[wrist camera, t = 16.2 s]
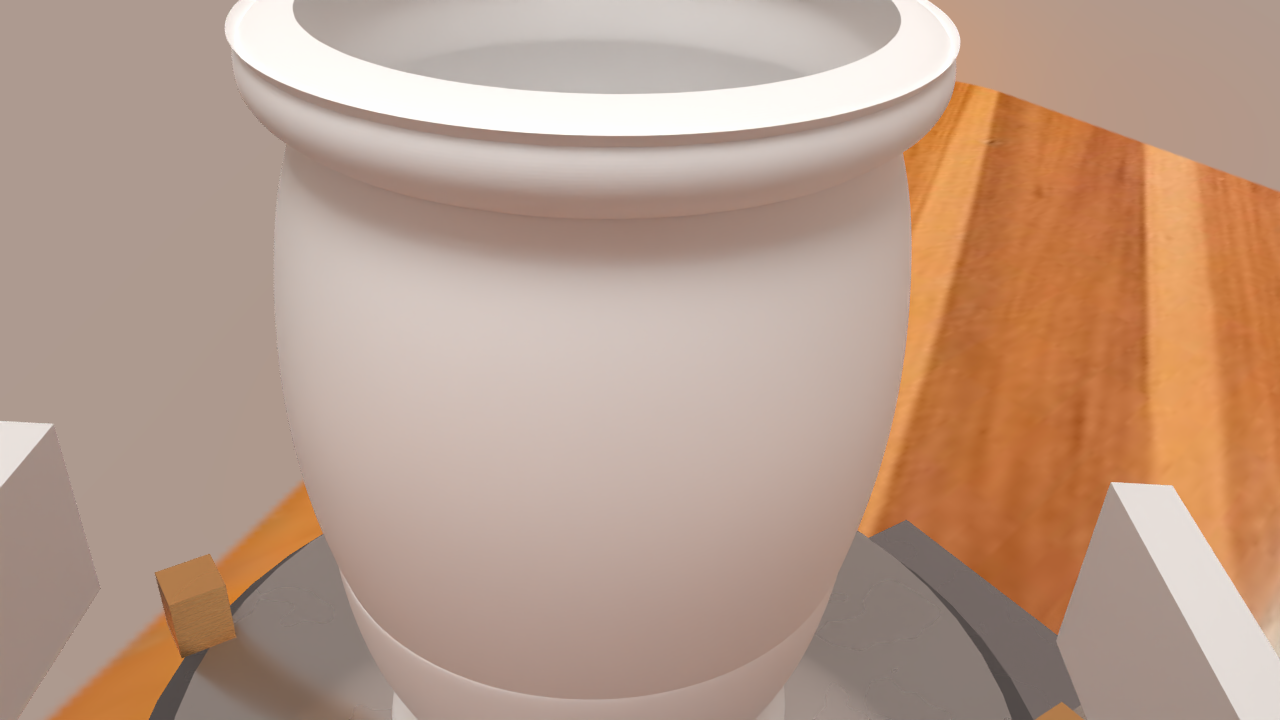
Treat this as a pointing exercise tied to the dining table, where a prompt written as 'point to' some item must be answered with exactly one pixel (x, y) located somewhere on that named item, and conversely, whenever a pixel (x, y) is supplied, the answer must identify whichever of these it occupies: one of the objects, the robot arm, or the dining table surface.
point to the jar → (591, 328)
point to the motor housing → (814, 694)
